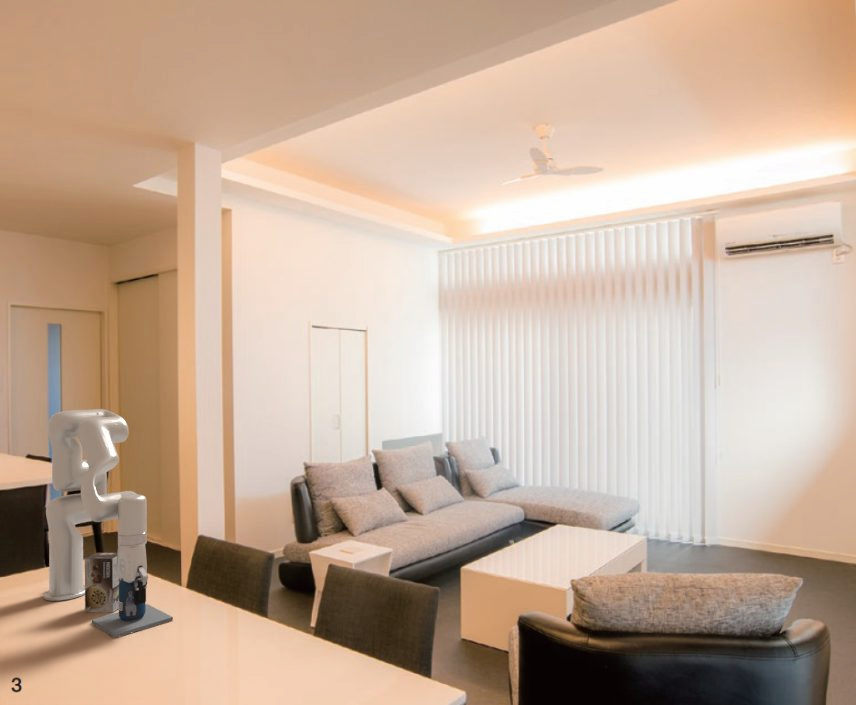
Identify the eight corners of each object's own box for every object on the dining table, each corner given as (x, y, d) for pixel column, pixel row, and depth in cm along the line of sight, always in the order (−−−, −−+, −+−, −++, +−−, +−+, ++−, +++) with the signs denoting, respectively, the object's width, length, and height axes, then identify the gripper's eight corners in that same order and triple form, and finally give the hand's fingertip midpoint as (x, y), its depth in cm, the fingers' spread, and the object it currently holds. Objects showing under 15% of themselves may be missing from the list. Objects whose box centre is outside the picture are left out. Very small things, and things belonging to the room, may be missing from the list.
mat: (91, 623, 182) (91, 619, 183) (147, 607, 194) (147, 604, 194) (115, 638, 172) (115, 634, 172) (172, 620, 184) (172, 617, 184)
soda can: (138, 611, 188) (138, 570, 188) (150, 617, 184) (150, 575, 184) (114, 619, 183) (114, 576, 183) (125, 625, 178) (125, 581, 179)
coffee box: (125, 605, 196) (125, 552, 197) (112, 613, 190) (112, 558, 191) (96, 604, 197) (97, 551, 198) (83, 612, 191) (83, 557, 191)
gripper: (106, 536, 187) (106, 596, 186) (132, 547, 175) (132, 610, 175) (132, 531, 192) (132, 589, 192) (159, 541, 181) (159, 602, 180)
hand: (132, 599), depth 183 cm, fingers open, 9 cm apart
